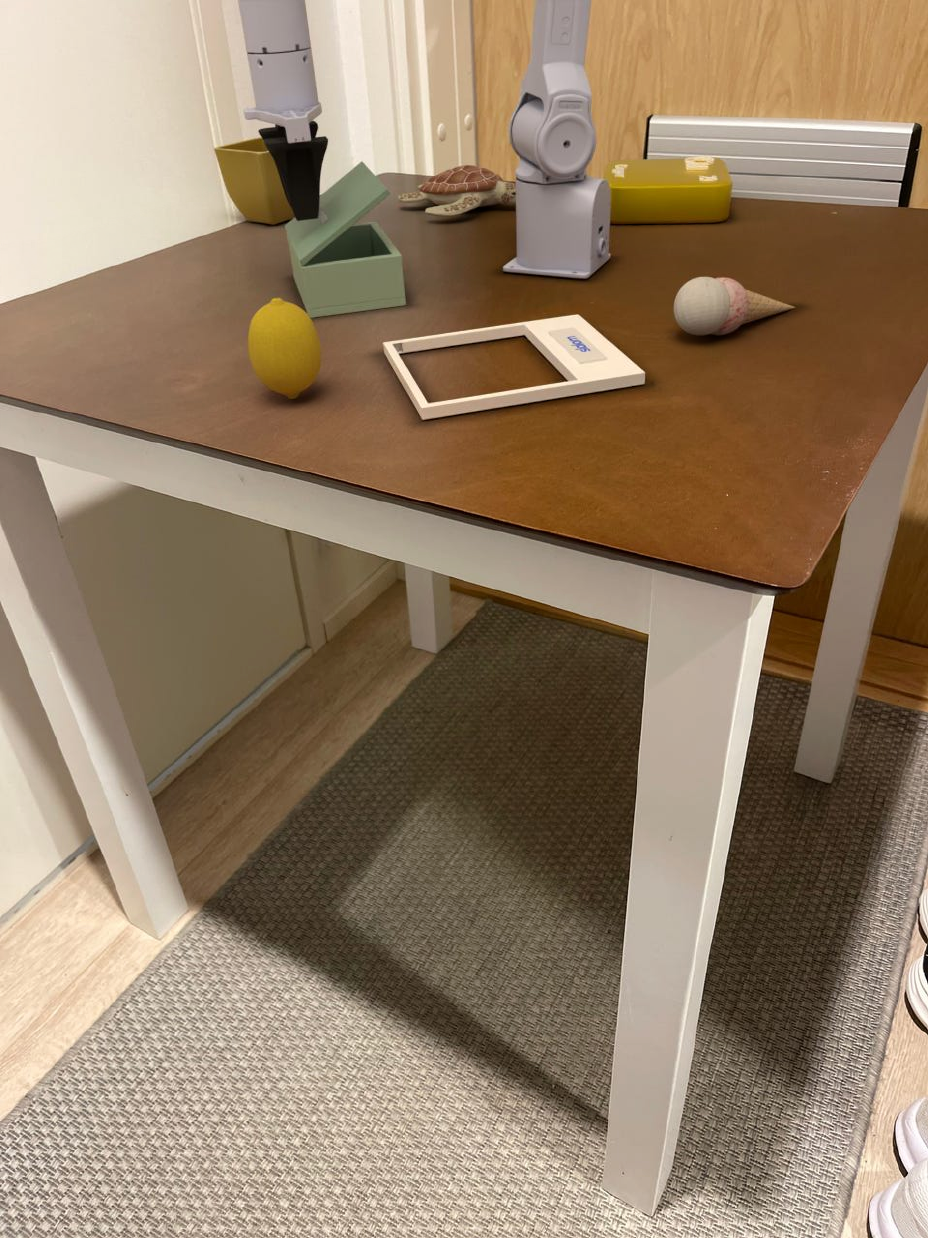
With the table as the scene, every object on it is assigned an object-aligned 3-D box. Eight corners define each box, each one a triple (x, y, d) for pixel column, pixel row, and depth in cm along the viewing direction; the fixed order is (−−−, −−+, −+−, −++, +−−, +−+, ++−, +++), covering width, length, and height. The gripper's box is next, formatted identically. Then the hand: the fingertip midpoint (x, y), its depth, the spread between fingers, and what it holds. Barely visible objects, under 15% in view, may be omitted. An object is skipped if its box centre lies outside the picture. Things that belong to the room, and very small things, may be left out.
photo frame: (645, 370, 73) (421, 405, 70) (644, 383, 74) (422, 419, 70) (578, 312, 84) (382, 340, 81) (577, 324, 85) (384, 352, 82)
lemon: (314, 414, 72) (298, 311, 68) (247, 411, 73) (227, 309, 69) (336, 385, 77) (323, 286, 72) (273, 383, 78) (255, 285, 73)
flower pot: (274, 208, 127) (262, 134, 122) (321, 215, 123) (311, 139, 117) (226, 223, 122) (211, 147, 116) (274, 231, 117) (261, 152, 112)
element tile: (603, 195, 124) (605, 155, 121) (720, 193, 122) (724, 152, 119) (601, 225, 112) (602, 182, 109) (730, 223, 110) (735, 179, 107)
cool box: (380, 267, 103) (376, 221, 100) (406, 305, 92) (401, 254, 89) (293, 278, 101) (286, 231, 98) (309, 318, 90) (301, 267, 88)
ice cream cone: (776, 339, 88) (664, 340, 80) (772, 287, 88) (659, 284, 80) (820, 327, 84) (707, 328, 76) (815, 273, 84) (701, 268, 76)
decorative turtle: (495, 229, 113) (494, 184, 110) (376, 220, 119) (372, 177, 116) (549, 194, 126) (550, 153, 123) (439, 187, 132) (437, 148, 129)
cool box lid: (365, 165, 96) (337, 124, 94) (390, 193, 86) (359, 148, 83) (287, 230, 98) (257, 192, 95) (303, 266, 88) (269, 223, 85)
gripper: (229, 46, 88) (256, 200, 96) (239, 62, 77) (269, 235, 85) (303, 39, 89) (324, 192, 97) (324, 54, 78) (345, 225, 86)
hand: (303, 212), depth 91 cm, fingers closed on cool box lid, 5 cm apart
